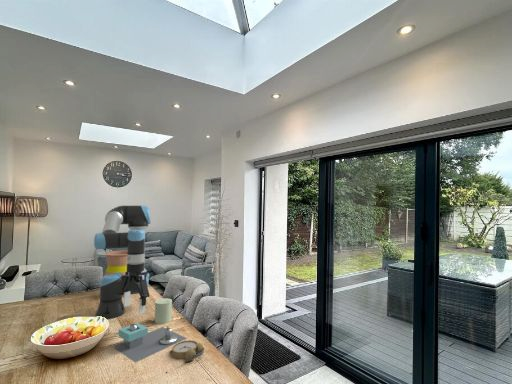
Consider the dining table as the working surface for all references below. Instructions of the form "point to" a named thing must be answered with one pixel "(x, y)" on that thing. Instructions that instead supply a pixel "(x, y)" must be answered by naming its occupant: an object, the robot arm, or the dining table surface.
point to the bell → (168, 337)
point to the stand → (134, 342)
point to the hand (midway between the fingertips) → (134, 309)
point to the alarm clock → (187, 350)
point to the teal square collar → (133, 332)
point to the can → (163, 311)
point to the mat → (147, 345)
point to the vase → (116, 262)
